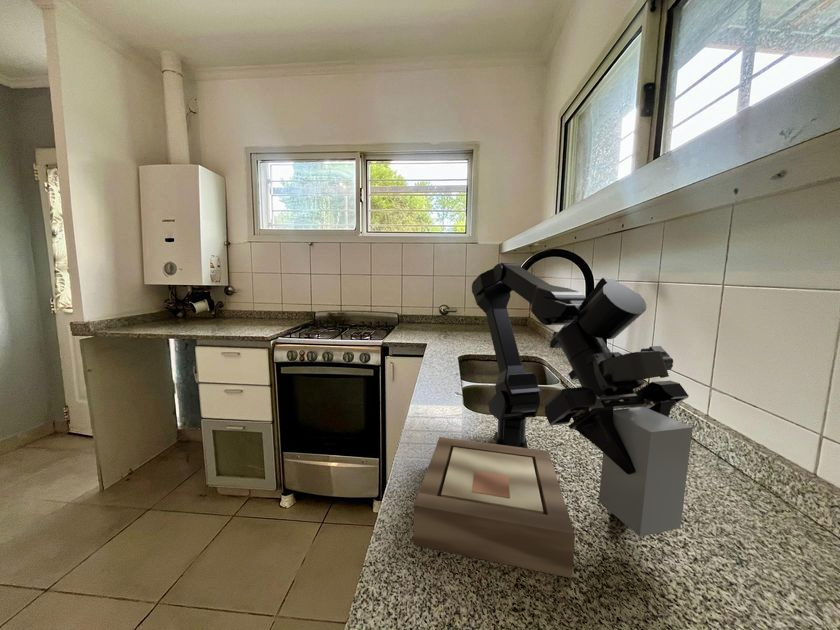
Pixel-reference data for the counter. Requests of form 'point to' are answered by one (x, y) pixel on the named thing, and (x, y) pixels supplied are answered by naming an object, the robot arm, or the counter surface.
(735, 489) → the counter surface
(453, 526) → the frame
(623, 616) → the counter surface
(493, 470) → the trapdoor plate
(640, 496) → the grey rectangular block
